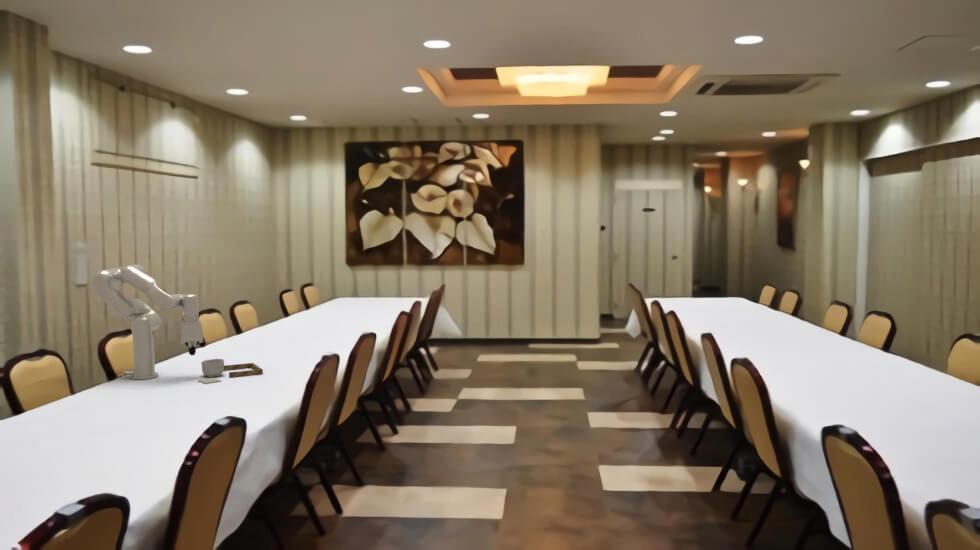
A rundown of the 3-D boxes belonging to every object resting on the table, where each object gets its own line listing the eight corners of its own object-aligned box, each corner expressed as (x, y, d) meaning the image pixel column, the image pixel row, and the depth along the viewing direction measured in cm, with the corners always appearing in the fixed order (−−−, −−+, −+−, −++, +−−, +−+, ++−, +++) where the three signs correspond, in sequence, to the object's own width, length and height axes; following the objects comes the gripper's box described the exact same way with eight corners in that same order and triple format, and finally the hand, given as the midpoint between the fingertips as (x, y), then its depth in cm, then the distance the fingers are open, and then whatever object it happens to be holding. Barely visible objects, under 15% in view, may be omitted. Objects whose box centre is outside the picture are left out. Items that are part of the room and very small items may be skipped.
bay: (229, 377, 358) (229, 372, 358) (221, 370, 375) (221, 365, 374) (262, 374, 367) (262, 369, 366) (252, 367, 383) (252, 362, 383)
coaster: (205, 385, 343) (205, 382, 343) (197, 382, 348) (197, 380, 348) (221, 382, 349) (221, 380, 349) (213, 380, 354) (213, 377, 354)
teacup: (219, 378, 356) (218, 362, 356) (197, 378, 356) (197, 362, 356) (229, 372, 370) (229, 357, 369) (209, 372, 370) (209, 357, 370)
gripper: (175, 321, 348) (177, 357, 349) (207, 318, 356) (209, 354, 357) (173, 319, 354) (175, 355, 356) (204, 316, 362) (206, 352, 364)
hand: (192, 354), depth 356 cm, fingers closed
